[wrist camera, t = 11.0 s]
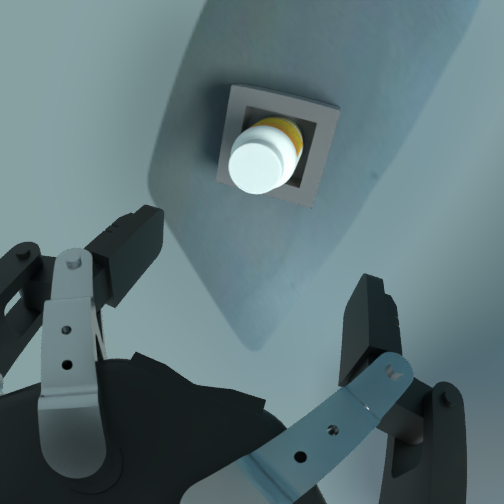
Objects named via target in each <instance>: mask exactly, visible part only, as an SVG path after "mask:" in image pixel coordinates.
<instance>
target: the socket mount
mask: <svg viewBox="0 0 504 504" xmlns="http://www.w3.org/2000/svg"><path fill="white" fill-rule="evenodd" d="M339 115H340V107H337V106H334V105H331V104H327V103H324V102H320V101H317V100H313V99H309V98H306V97H302V96H298V95H294V94H290V93H286V92H281V91H277V90H272V89H268V88H263V87H258V86H253V85H248V84H243V83H242V84H234V85H231V91H230V96H229V102H228V107H227V113H226V119H225V125H224V131H223V137H222V143H221V149H220V156H219V162H218V169H217V175H216V182H219V183H223V184H227V185H231V186H234V187H238V186H237V185H236V184H235V183H234V182H233V180H232V179H231V177H230V174H229V169H228V164H229V159H230V156H231V149H232V146H233V144H234V142H235V140H236V139H237V138H238V136H239V135H240V134H242V133H243V132H244V131H245V130H247V129H248V128H250V127H251V126H253V125H254V124H256V123H257V122H259V121H260V120H262V119H264V118H266V117H269V116H283V117H286V118H288V119H290V120H292V121H293V122H294V123H296V124H297V126H298V127H299V128H300V130H301V132H302V134H303V138H304V148H303V151H302V154H301V157H300V159H299V161H298V163H297V166H296V168H295V170H294V172H293V174H292V176H291V177H290V178H289V180H288V181H287V182H285V183H284V184H283V185H281V186H279V187H277V188H274V189H272V190H270V191H268V192H266V193H263V195H267V196H270V197H274V198H277V199H281V200H284V201H288V202H291V203H294V204H298V205H301V206H304V207H308V208H311V209H312V207H313V204H314V200H315V197H316V194H317V191H318V187H319V184H320V181H321V177H322V174H323V171H324V167H325V164H326V161H327V157H328V154H329V150H330V147H331V143H332V140H333V136H334V133H335V129H336V126H337V122H338V118H339ZM238 188H239V187H238Z"/></svg>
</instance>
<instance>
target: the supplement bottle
mask: <svg viewBox="0 0 504 504" xmlns="http://www.w3.org/2000/svg"><path fill="white" fill-rule="evenodd" d="M303 148H304V138H303V134H302V132H301V130H300V128H299V127H298V126H297V124H296V123H294V122H293V121H292V120H290V119H288V118H286V117H283V116H269V117H266V118H264V119H262V120H260V121H259V122H257V123H256V124H254V125H253V126H251V127H250V128H248V129H247V130H245V131H244V132H243V133H242V134H240V135H239V136H238V138H237V139H236V140H235V142H234V144H233V146H232V149H231V156H230V159H229V164H228V169H229V174H230V177H231V179H232V180H233V182H234V183H235V184H236V185H237V186H238V187H239V188H240V189H242V190H243V191H245V192H248V193H251V194H263V193H266V192H268V191H270V190H272V189H274V188H277V187H279V186H281V185H283V184H284V183H285V182H287V181H288V180H289V178H290V177H291V176H292V174H293V172H294V170H295V168H296V166H297V163H298V161H299V159H300V157H301V154H302V151H303Z"/></svg>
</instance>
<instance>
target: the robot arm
mask: <svg viewBox="0 0 504 504" xmlns="http://www.w3.org/2000/svg"><path fill="white" fill-rule="evenodd" d="M163 226H164V211H163V210H162V209H159V208H156V207H153V206H149V205H144V206H142V207H141V208H140V209H139V210H138V211H136V212H135V213H134V214H133V213H129V214H127V215H124V216H122V217H119V218H118V219H117V220H116V221H115V222H114V223H112V225H111V226H109V227H108V228H106V230H105V231H103V232H102V233H101V234H100V235H98V236H97V237H96V238H95V239H94V240H93V241H92V242H90V243H89V244H88V245H87V246H86V247H85V248H84V249H82V248H72V249H68V250H66V251H63V252H62V253H60V254H59V255H58V257H49V256H42V255H41V252H40V248H39V246H38V245H37V244H35V243H33V242H23V243H20V244H17V245H16V246H14V247H13V248H12V249H11V250H9V252H7V253H6V254H5V255H4V256H3V257H2V258H1V259H0V504H327V503H326V501H325V499H324V497H323V496H322V494H321V492H320V490H319V488H318V486H317V483H318V482H319V481H320V480H321V479H323V478H324V477H325V476H326V475H327V474H328V473H329V472H331V471H332V470H333V469H334V468H335V467H336V466H337V465H338V464H339V463H341V462H342V461H343V460H344V459H345V458H346V457H347V456H348V455H349V454H350V453H351V452H352V451H353V450H354V449H355V448H356V447H357V446H358V445H359V444H360V443H361V442H362V441H363V440H364V439H365V438H366V437H367V436H368V435H369V434H370V433H371V432H372V431H373V430H374V429H375V428H378V429H380V430H382V431H384V432H385V433H387V434H388V439H387V449H386V458H385V466H384V473H383V481H382V487H381V493H380V499H379V504H466V487H467V446H466V427H465V413H464V403H463V398H462V395H461V393H460V392H459V390H458V389H457V388H456V387H455V386H454V385H453V384H451V383H449V382H439V383H437V384H436V385H435V386H434V387H433V388H432V387H430V386H428V385H426V384H425V383H423V382H421V381H419V380H418V379H416V378H415V377H414V372H413V368H412V366H411V364H410V363H409V362H408V360H407V359H405V358H404V357H403V356H402V346H401V337H400V328H399V320H398V314H397V313H398V312H397V306H396V304H395V303H394V301H393V299H392V297H391V296H390V295H387V294H385V292H384V284H383V279H381V278H378V277H375V276H371V275H368V274H363V275H362V277H361V278H360V280H359V283H358V284H357V287H356V288H355V290H354V292H353V294H352V296H351V298H350V300H349V301H348V303H347V306H346V309H345V312H344V318H343V320H344V321H343V335H342V350H341V362H340V374H339V384H338V386H341V388H340V389H339V390H337V391H336V392H335V393H334V394H333V395H331V396H330V397H329V398H328V399H326V400H325V401H324V402H323V403H321V404H320V405H319V406H317V407H316V408H315V409H314V410H312V411H311V412H310V413H308V414H307V415H306V416H304V417H303V418H302V419H300V420H299V421H298V422H296V423H295V424H294V425H292V426H291V427H290V428H288V429H287V428H286V427H285V426H284V425H283V423H282V422H281V421H279V420H278V419H277V418H276V417H275V416H274V415H272V414H271V413H269V412H268V411H266V410H264V405H265V402H266V400H265V399H261V398H258V397H255V396H252V395H248V394H245V393H242V392H239V391H236V390H233V389H224V388H215V387H208V386H200V385H196V384H193V383H192V382H190V381H189V380H187V379H186V378H184V377H183V376H181V375H180V374H178V373H177V372H175V371H174V370H172V369H171V368H170V367H168V366H167V365H165V364H163V363H161V362H158V361H156V360H154V359H151V358H149V357H147V356H145V355H142V354H140V353H138V352H135V354H134V355H133V357H132V358H131V360H128V359H107V356H106V349H105V341H104V331H103V320H102V311H101V308H102V307H103V306H104V304H108V305H110V306H112V307H114V308H115V307H117V305H118V304H119V303H120V302H121V300H122V299H123V298H124V297H125V295H126V294H127V293H128V291H129V290H130V289H131V288H132V286H133V285H134V284H135V283H136V282H137V280H138V279H139V278H140V277H141V275H142V274H143V273H144V272H145V271H146V270H147V268H148V267H149V266H150V265H151V264H152V262H153V261H154V260H155V259H156V258H157V256H158V255H159V253H160V251H161V248H162V243H163ZM18 291H19V293H20V296H21V298H20V299H19V300H18V302H17V303H16V304H15V305H14V306H13V307H12V309H11V310H10V311H9V312H8V313H7V314H6V316H4V310H5V307H6V305H7V303H8V302H9V301H10V300H11V299H12V297H13V296H14V295H15V294H16V293H17V292H18ZM42 324H43V325H42ZM41 326H42V344H41V345H42V346H41V382H40V383H37V384H34V385H31V386H28V387H25V388H23V389H20V390H17V391H14V392H11V393H8V394H5V395H3V392H2V389H3V378H4V377H5V375H6V373H7V372H8V371H9V369H10V368H11V366H12V365H13V363H14V362H15V360H16V359H17V358H18V356H19V355H20V353H21V352H22V351H23V349H24V348H25V347H26V345H27V344H28V343H29V341H30V340H31V339H32V337H33V336H34V335H35V333H36V332H37V331H38V329H39V328H40V327H41Z"/></svg>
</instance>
